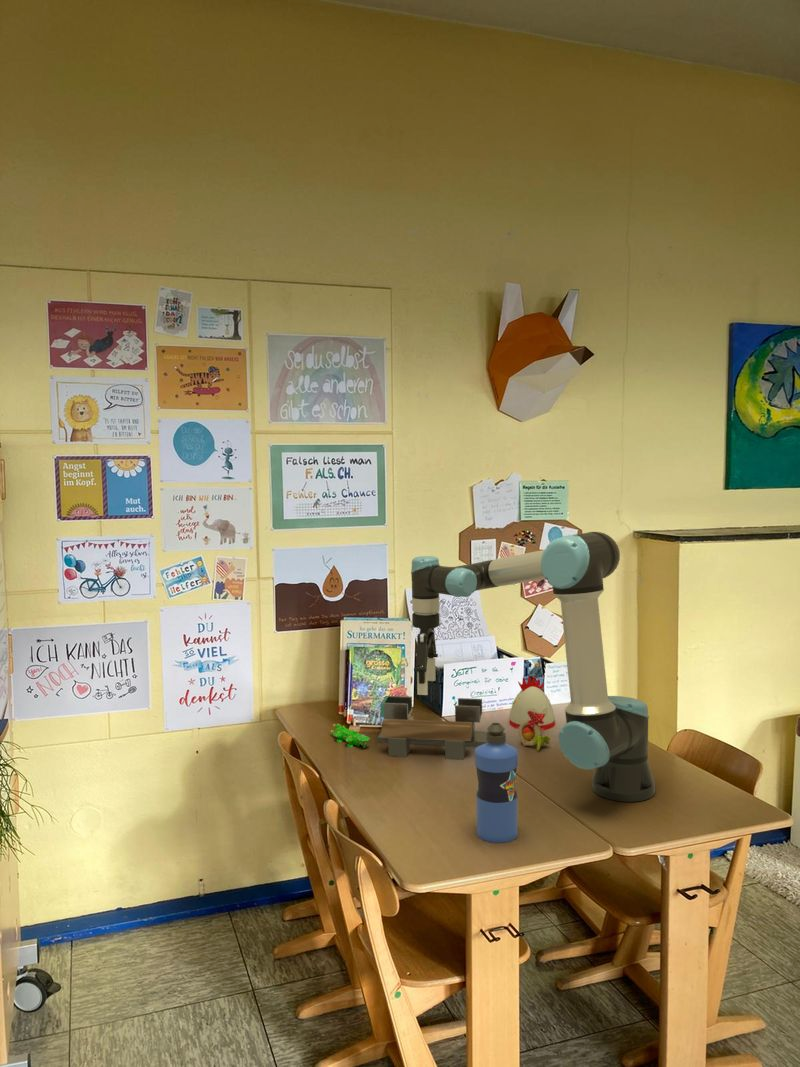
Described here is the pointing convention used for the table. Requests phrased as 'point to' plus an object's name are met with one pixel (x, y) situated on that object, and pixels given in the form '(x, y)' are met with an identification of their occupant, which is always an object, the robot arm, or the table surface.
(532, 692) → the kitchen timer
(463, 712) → the rail stand
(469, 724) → the walnut rail
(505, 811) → the water bottle
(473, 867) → the table surface
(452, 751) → the rail rest
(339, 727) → the crocodile figurine
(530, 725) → the bird rattle
